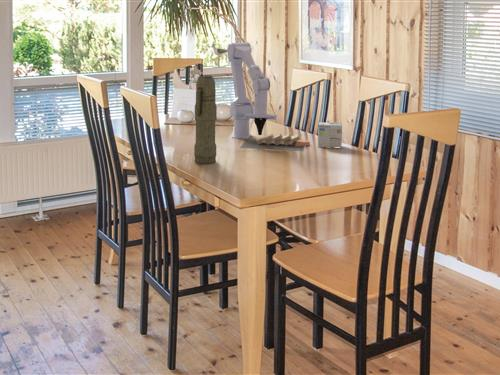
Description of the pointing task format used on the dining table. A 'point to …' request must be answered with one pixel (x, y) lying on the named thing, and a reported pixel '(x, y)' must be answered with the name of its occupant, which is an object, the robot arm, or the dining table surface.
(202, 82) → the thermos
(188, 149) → the dining table surface
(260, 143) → the domino
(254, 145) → the rubber mat
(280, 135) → the domino
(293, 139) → the domino
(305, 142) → the domino
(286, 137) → the domino
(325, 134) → the light bulb box
